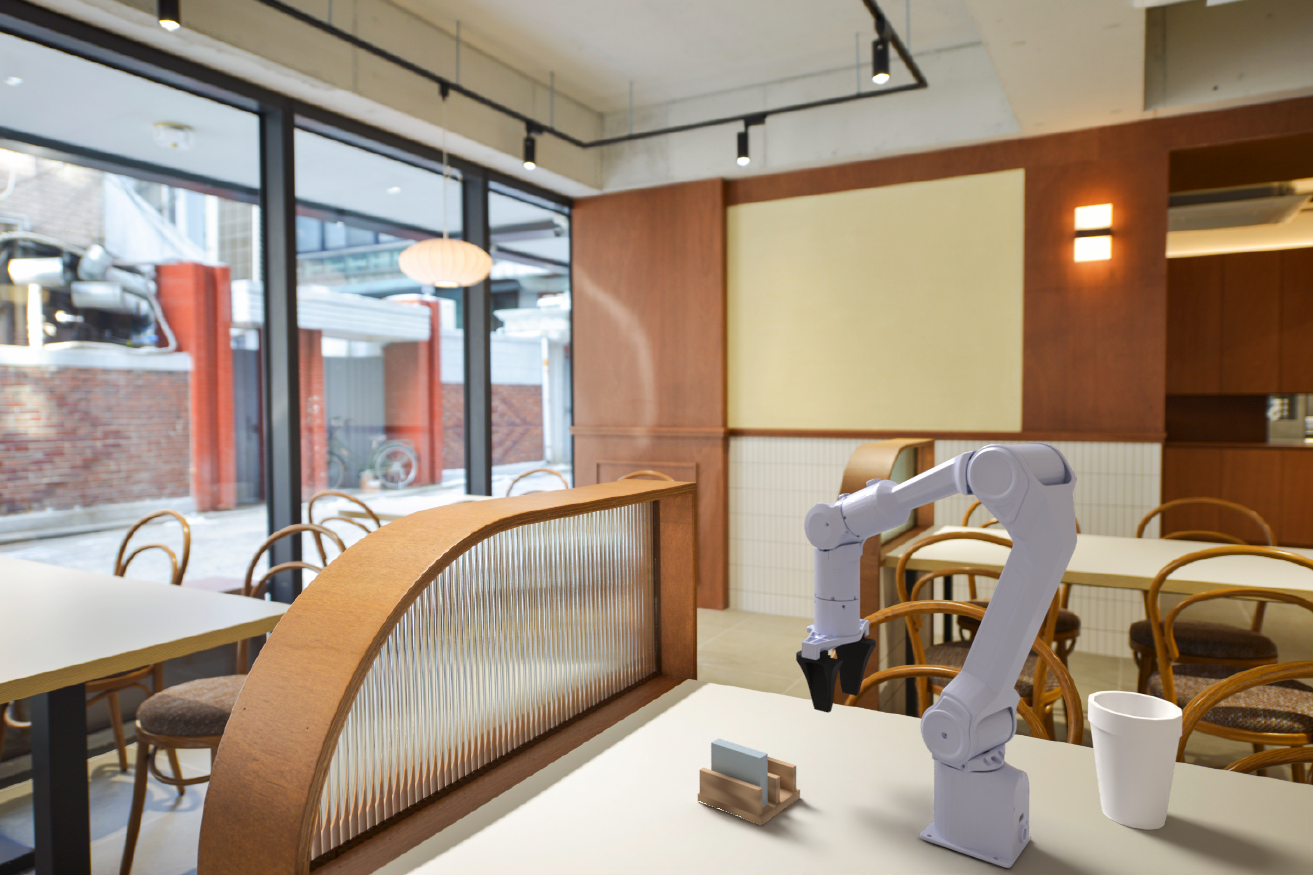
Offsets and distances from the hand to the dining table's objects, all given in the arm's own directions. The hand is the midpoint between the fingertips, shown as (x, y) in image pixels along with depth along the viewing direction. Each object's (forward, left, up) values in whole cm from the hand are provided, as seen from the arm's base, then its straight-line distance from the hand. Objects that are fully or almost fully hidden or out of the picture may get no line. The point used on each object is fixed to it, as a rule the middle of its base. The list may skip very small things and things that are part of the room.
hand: (836, 701), depth 103 cm
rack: (+6, +12, -10) cm, 17 cm away
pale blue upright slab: (+6, +14, -9) cm, 18 cm away
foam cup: (-31, -13, -10) cm, 35 cm away
